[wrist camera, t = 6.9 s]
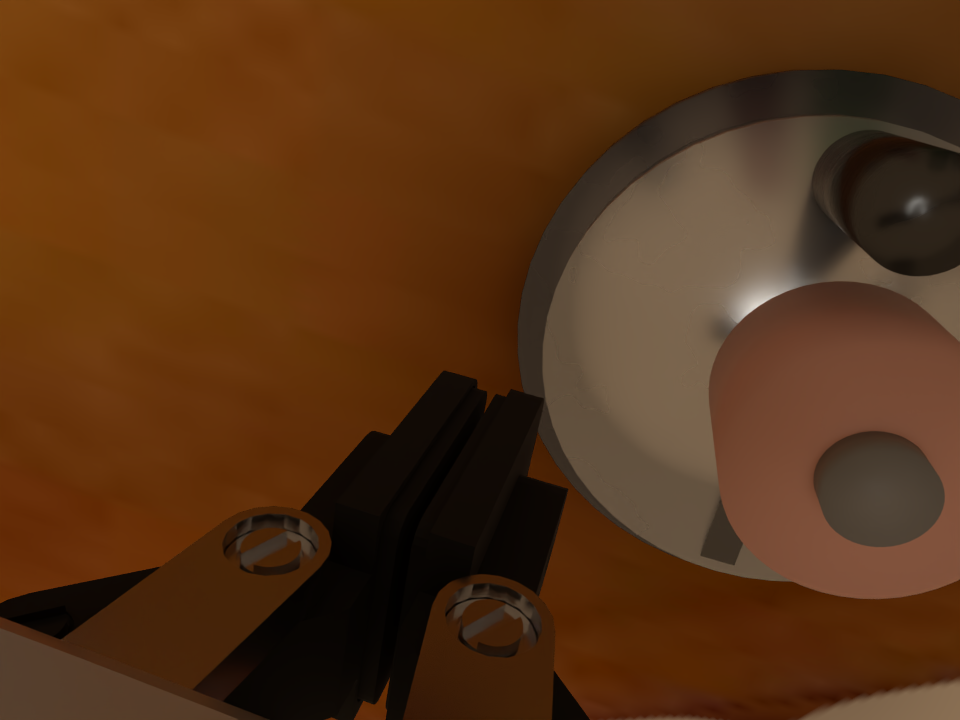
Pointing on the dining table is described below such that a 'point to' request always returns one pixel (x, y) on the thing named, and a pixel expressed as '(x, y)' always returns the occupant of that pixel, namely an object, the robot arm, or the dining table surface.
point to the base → (674, 131)
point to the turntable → (728, 297)
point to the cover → (842, 440)
